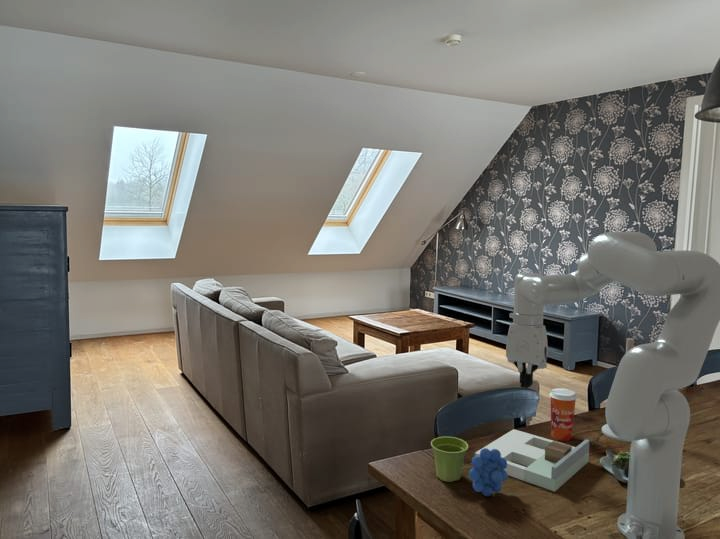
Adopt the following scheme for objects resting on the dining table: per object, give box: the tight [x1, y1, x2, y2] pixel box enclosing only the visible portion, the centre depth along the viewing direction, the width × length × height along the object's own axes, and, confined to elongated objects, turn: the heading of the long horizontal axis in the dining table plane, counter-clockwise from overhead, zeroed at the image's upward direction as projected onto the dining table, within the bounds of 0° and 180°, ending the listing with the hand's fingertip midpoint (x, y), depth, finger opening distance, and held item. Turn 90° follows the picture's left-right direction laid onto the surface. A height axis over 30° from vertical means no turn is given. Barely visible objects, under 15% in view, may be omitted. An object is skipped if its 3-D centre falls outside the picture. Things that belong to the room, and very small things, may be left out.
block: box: [545, 440, 573, 463], centre depth 146 cm, size 5×5×4 cm
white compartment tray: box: [474, 428, 590, 493], centre depth 150 cm, size 22×22×6 cm
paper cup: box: [549, 387, 578, 442], centre depth 167 cm, size 8×8×14 cm
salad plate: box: [599, 448, 630, 486], centre depth 146 cm, size 19×18×5 cm
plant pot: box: [430, 436, 469, 483], centre depth 142 cm, size 9×9×9 cm
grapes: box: [468, 447, 509, 497], centre depth 131 cm, size 12×7×12 cm, turn 120°
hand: (525, 386), depth 151 cm, fingers closed
